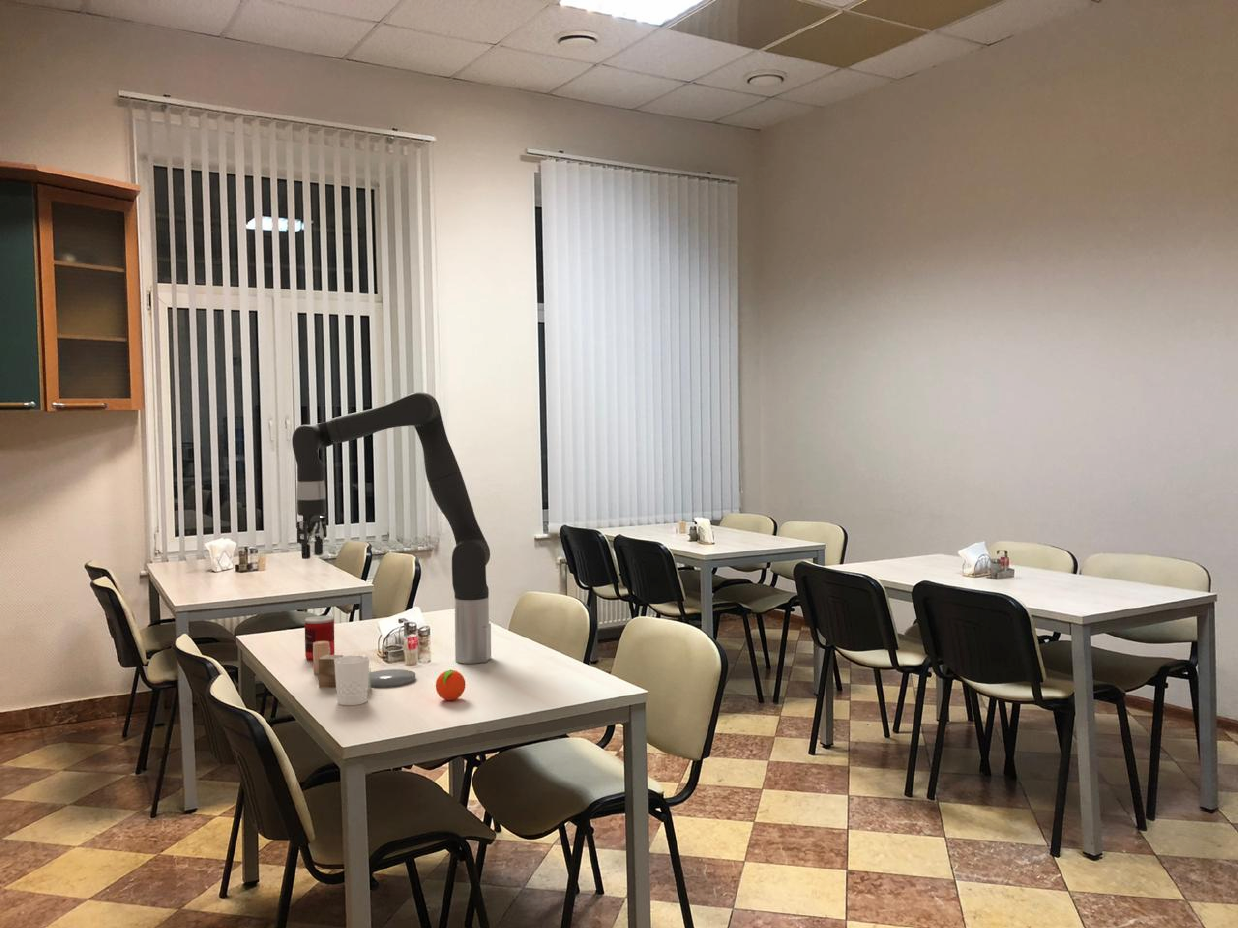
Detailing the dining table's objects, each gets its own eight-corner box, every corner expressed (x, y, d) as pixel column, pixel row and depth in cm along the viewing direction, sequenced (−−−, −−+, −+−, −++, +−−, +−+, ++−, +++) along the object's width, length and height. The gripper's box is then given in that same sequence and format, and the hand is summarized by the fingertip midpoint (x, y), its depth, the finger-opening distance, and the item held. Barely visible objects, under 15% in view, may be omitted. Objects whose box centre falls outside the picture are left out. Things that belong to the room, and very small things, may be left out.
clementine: (458, 705, 222) (458, 675, 222) (429, 704, 224) (429, 673, 223) (469, 696, 230) (469, 666, 230) (442, 694, 232) (441, 665, 231)
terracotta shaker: (332, 671, 254) (331, 640, 254) (326, 675, 250) (325, 644, 250) (317, 670, 255) (316, 640, 254) (311, 674, 251) (310, 644, 250)
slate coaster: (421, 674, 251) (421, 669, 251) (406, 687, 238) (406, 682, 238) (372, 673, 252) (372, 668, 252) (354, 686, 239) (354, 681, 239)
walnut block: (343, 682, 243) (343, 655, 243) (336, 687, 239) (336, 659, 238) (326, 682, 243) (325, 654, 243) (319, 687, 239) (318, 659, 239)
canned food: (338, 654, 273) (338, 615, 272) (327, 661, 265) (326, 621, 264) (312, 653, 273) (311, 615, 273) (300, 660, 266) (299, 621, 265)
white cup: (337, 708, 221) (336, 664, 221) (332, 699, 228) (332, 657, 228) (372, 704, 224) (371, 661, 224) (367, 695, 232) (366, 653, 231)
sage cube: (370, 688, 238) (370, 667, 238) (369, 693, 233) (368, 673, 233) (349, 689, 237) (349, 668, 237) (347, 694, 232) (347, 674, 232)
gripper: (313, 499, 258) (315, 560, 259) (334, 495, 273) (335, 553, 273) (286, 499, 259) (288, 560, 260) (308, 495, 273) (310, 553, 274)
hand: (312, 556), depth 267 cm, fingers open, 8 cm apart
